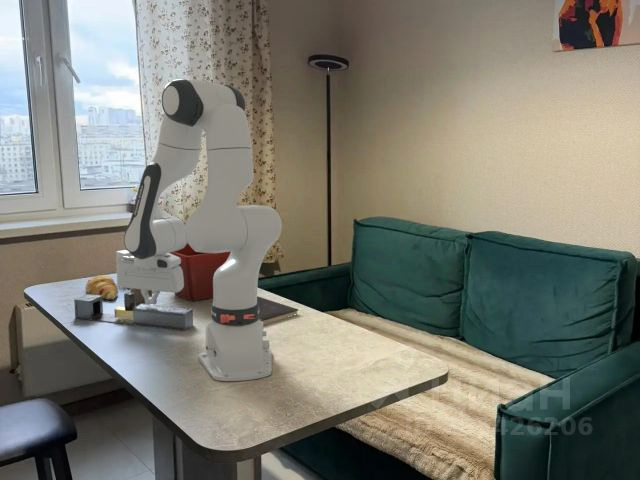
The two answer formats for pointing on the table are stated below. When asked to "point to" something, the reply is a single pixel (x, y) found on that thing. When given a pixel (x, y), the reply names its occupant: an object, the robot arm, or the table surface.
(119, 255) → the skincare box
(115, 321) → the guide
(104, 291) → the croissant
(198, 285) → the plant pot
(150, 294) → the vase
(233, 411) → the table surface
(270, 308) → the hardcover book
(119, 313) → the sliding bolt
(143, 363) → the table surface
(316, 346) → the table surface
